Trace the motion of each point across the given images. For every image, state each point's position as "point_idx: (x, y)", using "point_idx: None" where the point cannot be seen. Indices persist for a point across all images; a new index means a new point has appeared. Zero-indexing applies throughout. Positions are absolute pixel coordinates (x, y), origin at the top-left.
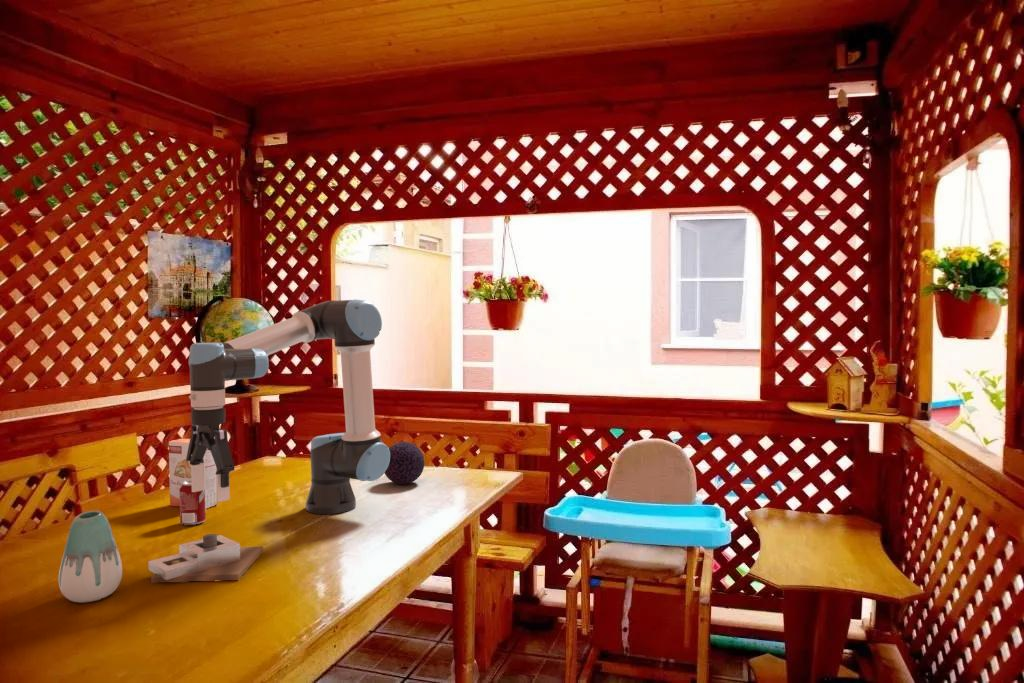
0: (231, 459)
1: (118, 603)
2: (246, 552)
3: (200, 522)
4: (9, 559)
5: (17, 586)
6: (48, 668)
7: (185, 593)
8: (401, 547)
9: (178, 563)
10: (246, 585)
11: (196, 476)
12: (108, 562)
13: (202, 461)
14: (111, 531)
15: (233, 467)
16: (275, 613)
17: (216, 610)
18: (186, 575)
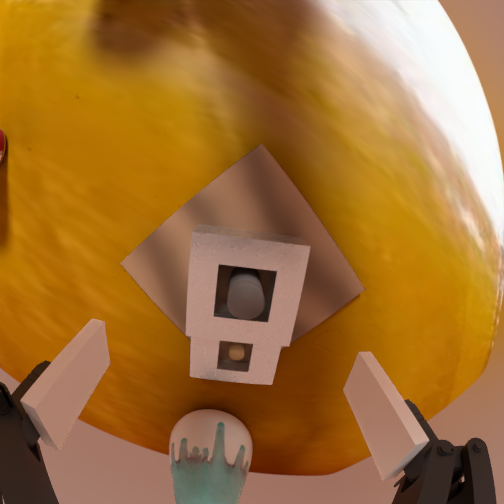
0: (490, 482)
1: (268, 417)
2: (266, 194)
3: (5, 143)
4: (17, 380)
5: (109, 429)
6: (348, 463)
7: (323, 361)
8: (439, 33)
9: (253, 357)
10: (386, 287)
11: (77, 394)
12: (249, 461)
13: (6, 401)
14: (223, 488)
15: (484, 449)
16: (464, 313)
17: (405, 356)
18: (282, 347)
